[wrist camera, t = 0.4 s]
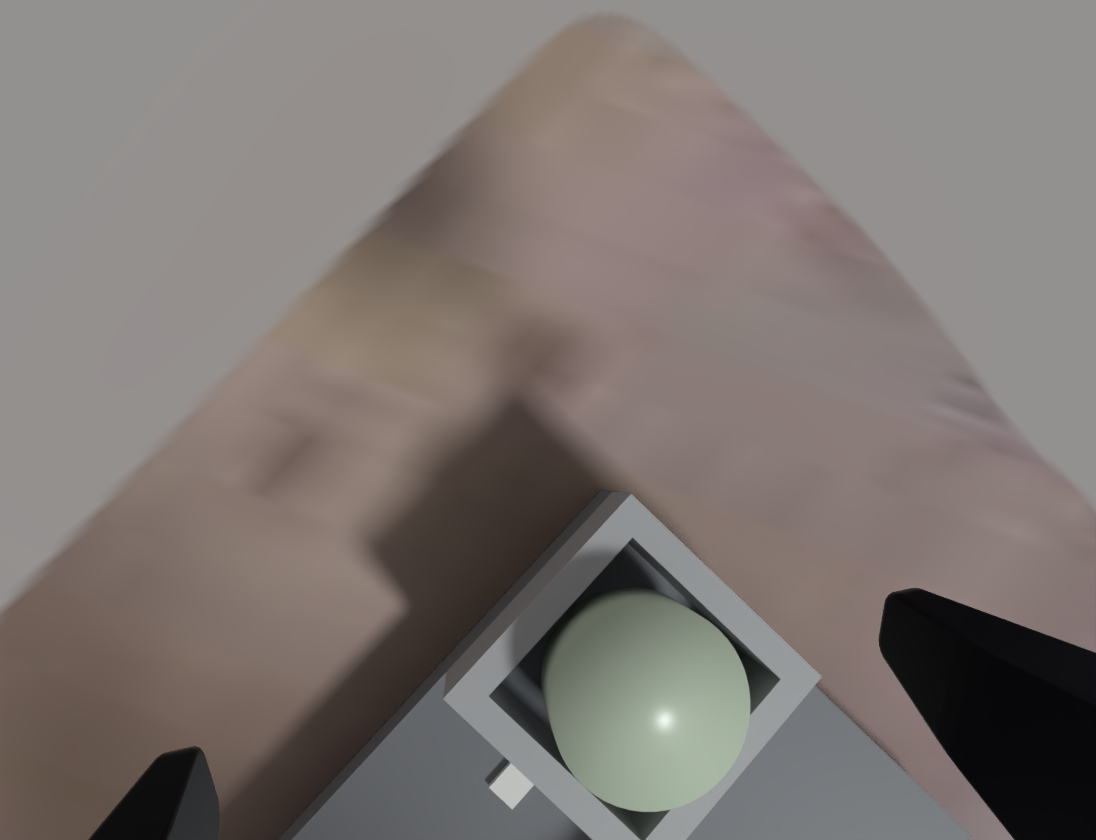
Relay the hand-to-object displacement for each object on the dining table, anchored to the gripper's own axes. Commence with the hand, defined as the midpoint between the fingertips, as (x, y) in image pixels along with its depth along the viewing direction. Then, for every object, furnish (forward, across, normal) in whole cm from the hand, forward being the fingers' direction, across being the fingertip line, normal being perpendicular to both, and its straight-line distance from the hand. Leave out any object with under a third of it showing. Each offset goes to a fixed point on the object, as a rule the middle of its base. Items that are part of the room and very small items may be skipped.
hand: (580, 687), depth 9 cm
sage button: (+7, -3, +7) cm, 11 cm away
